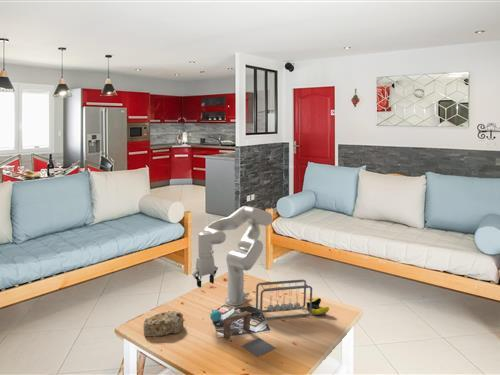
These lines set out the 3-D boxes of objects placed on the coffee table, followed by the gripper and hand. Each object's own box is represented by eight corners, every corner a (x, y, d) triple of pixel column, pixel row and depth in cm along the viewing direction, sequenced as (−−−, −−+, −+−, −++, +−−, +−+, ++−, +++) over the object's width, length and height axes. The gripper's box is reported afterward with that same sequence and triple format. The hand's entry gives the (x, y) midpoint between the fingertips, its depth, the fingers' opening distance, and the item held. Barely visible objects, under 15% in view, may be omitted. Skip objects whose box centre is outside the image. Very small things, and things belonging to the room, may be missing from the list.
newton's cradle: (304, 307, 242) (306, 278, 239) (311, 315, 232) (312, 285, 229) (255, 312, 235) (256, 282, 232) (260, 320, 225) (260, 290, 222)
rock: (144, 341, 204) (141, 321, 204) (145, 334, 218) (142, 315, 218) (185, 332, 209) (183, 313, 209) (183, 325, 223) (181, 307, 223)
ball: (216, 317, 228) (216, 307, 227) (223, 321, 224) (223, 311, 223) (208, 320, 224) (208, 310, 223) (214, 324, 220) (214, 314, 219)
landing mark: (258, 337, 207) (258, 337, 207) (275, 347, 198) (275, 347, 198) (240, 346, 199) (240, 345, 199) (257, 356, 190) (257, 356, 190)
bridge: (223, 337, 207) (223, 319, 205) (246, 328, 217) (246, 310, 215) (227, 340, 205) (227, 322, 203) (249, 330, 214) (250, 313, 213)
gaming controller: (319, 305, 246) (303, 306, 244) (319, 296, 245) (303, 297, 243) (330, 316, 232) (313, 318, 229) (330, 307, 231) (313, 309, 228)
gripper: (214, 249, 234) (214, 278, 236) (188, 256, 222) (188, 286, 225) (222, 252, 228) (222, 282, 231) (196, 259, 217) (196, 291, 219)
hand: (205, 284), depth 228 cm, fingers open, 7 cm apart
